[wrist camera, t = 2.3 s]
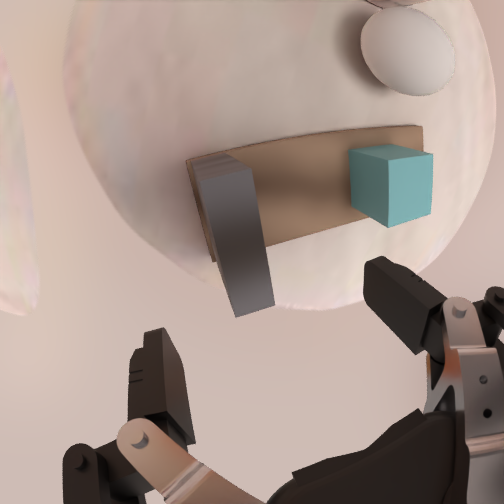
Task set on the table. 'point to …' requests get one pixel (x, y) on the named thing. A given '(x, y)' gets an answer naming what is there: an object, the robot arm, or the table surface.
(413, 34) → the ball
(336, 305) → the table surface
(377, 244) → the table surface
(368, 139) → the brown piece
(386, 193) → the teal block
